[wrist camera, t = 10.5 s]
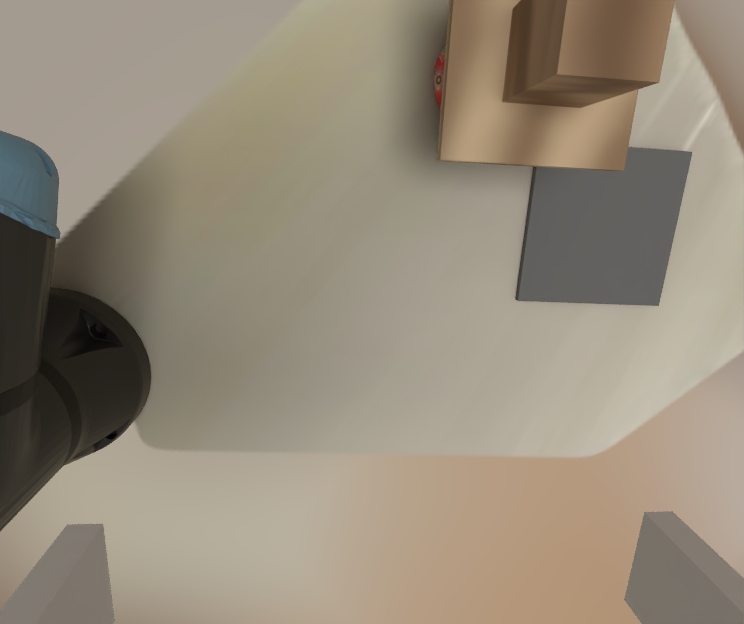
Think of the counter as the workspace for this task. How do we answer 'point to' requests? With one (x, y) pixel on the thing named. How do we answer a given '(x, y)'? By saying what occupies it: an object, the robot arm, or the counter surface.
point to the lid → (548, 80)
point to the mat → (602, 230)
